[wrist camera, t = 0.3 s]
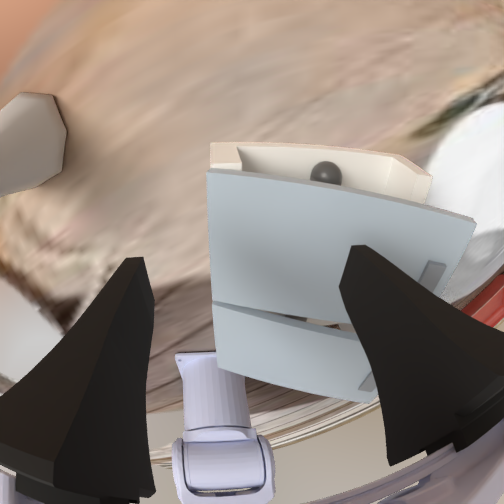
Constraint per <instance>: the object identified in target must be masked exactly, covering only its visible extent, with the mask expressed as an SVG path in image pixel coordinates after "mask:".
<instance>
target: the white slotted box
mask: <svg viewBox="0 0 504 504" xmlns="http://www.w3.org/2000/svg"><path fill="white" fill-rule="evenodd" d="M210 167H211V168H217V169H228V170H237V171H246V172H255V173H263V174H270V175H278V176H285V177H292V178H298V179H305V180H311V181H317V182H323V183H329V184H334V185H340V186H345V187H350V188H355V189H360V190H365V191H370V192H374V193H379V194H384V195H388V196H392V197H397V198H401V199H405V200H409V201H413V202H417V203H421V204H424V203H425V200H426V197H427V194H428V191H429V188H430V185H431V182H432V178H433V176H431V175H430V174H428V173H427V172H426V171H424V170H423V169H421V168H420V167H418V166H417V165H415V164H414V163H412V162H411V161H409V160H408V159H406V158H405V157H403V156H402V155H398V154H392V153H385V152H379V151H371V150H364V149H355V148H346V147H336V146H325V145H312V144H296V143H273V142H213V143H210ZM253 309H254V308H253ZM257 310H260V309H257ZM260 311H264V312H268V313H272V314H276V315H280V316H283V317H287V318H291V319H295V320H300V321H304V322H308V323H312V324H316V325H320V326H326V325H333V324H338V325H339V328H340V330H343V331H347V332H352V333H356V332H355V329H354V327H353V325H352V324H348V323H340V322H333V321H326V320H320V319H313V318H307V317H300V316H294V315H288V314H282V313H276V312H271V311H265V310H260Z"/></svg>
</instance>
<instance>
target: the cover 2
mask: <svg viewBox="0 0 504 504" xmlns="http://www.w3.org/2000/svg"><path fill="white" fill-rule="evenodd" d="M212 312H213V323H214V335H215V345H216V355H217V365H218V368H221V369H225V370H228V371H231V372H234V373H237V374H240V375H243V376H247V377H250V378H254V379H257V380H261V381H264V382H268V383H271V384H275V385H279V386H283V387H287V388H291V389H295V390H299V391H304V392H308V393H312V394H317V395H322V396H327V397H332V398H337V399H343V400H348V401H354V402H361V403H367V404H369V403H370V402H371V401H372V400H373V399H374V398H375V397H376V396H377V395H378V391H377V387H376V383H375V380H374V376H373V373H372V369H371V366H370V364H369V361H368V358H367V356H366V354H365V351H364V349H363V347H362V345H361V342H360V340H359V338H358V336H357V334H356V333H352V332H347V331H343V330H338V329H334V328H329V327H325V326H320V325H316V324H312V323H308V322H304V321H300V320H295V319H291V318H287V317H283V316H280V315H276V314H272V313H268V312H264V311H260V310H257V309H253V308H249V307H244V306H238V305H233V304H228V303H223V302H219V301H213V303H212Z"/></svg>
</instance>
